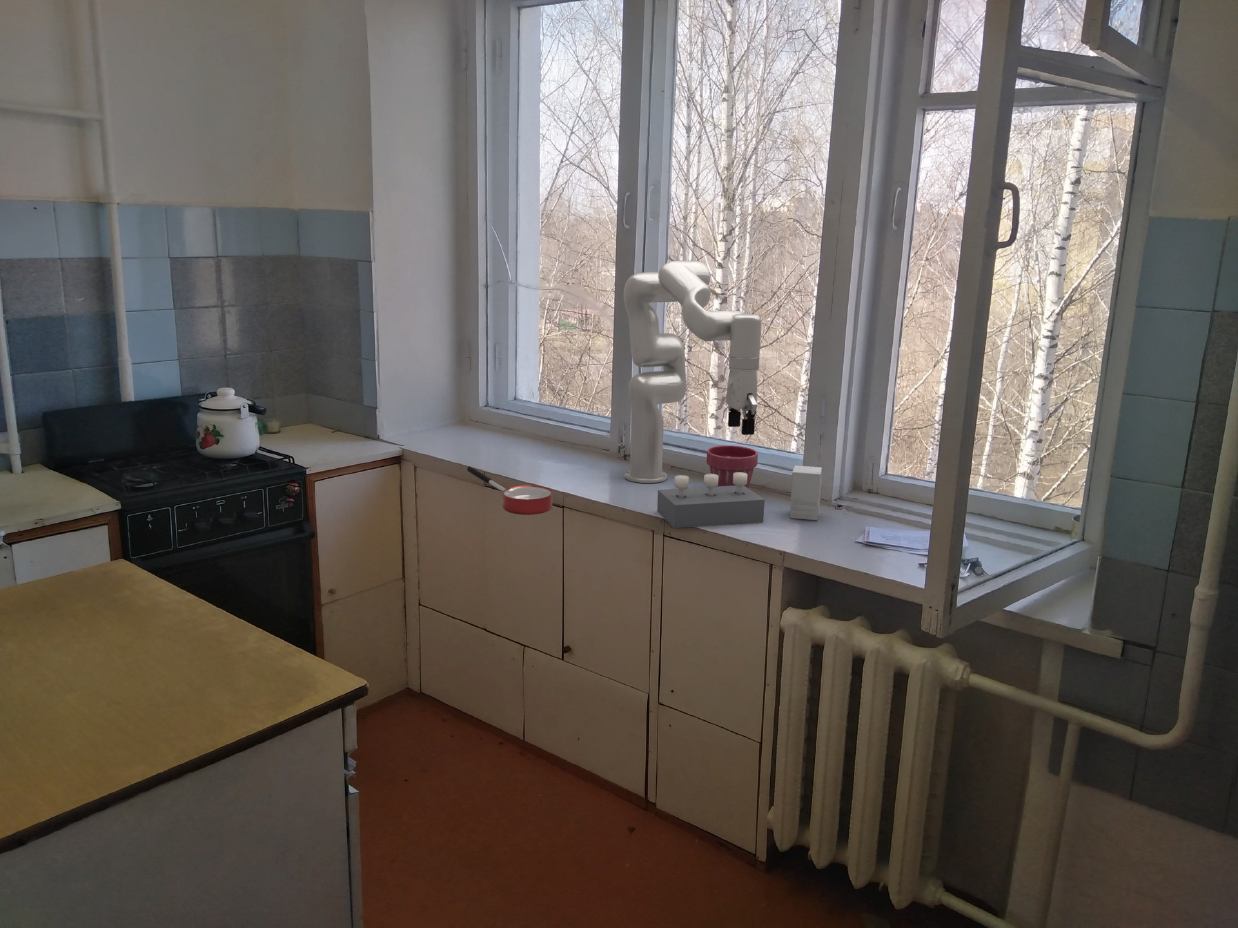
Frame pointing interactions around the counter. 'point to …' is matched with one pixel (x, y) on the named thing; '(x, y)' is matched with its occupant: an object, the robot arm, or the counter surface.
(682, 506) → the control box
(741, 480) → the knob
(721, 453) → the plant pot
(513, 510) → the red saucepan
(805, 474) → the supplement box
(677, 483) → the knob
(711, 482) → the knob
